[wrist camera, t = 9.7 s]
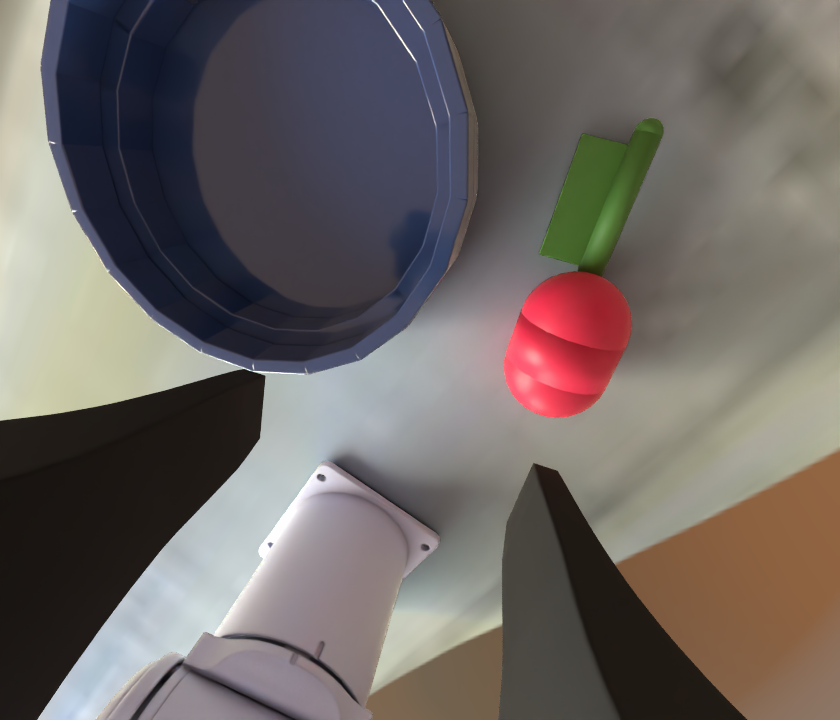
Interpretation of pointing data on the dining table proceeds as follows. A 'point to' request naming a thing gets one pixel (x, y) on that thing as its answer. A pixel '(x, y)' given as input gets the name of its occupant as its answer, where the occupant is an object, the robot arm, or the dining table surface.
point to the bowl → (265, 165)
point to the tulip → (581, 282)
